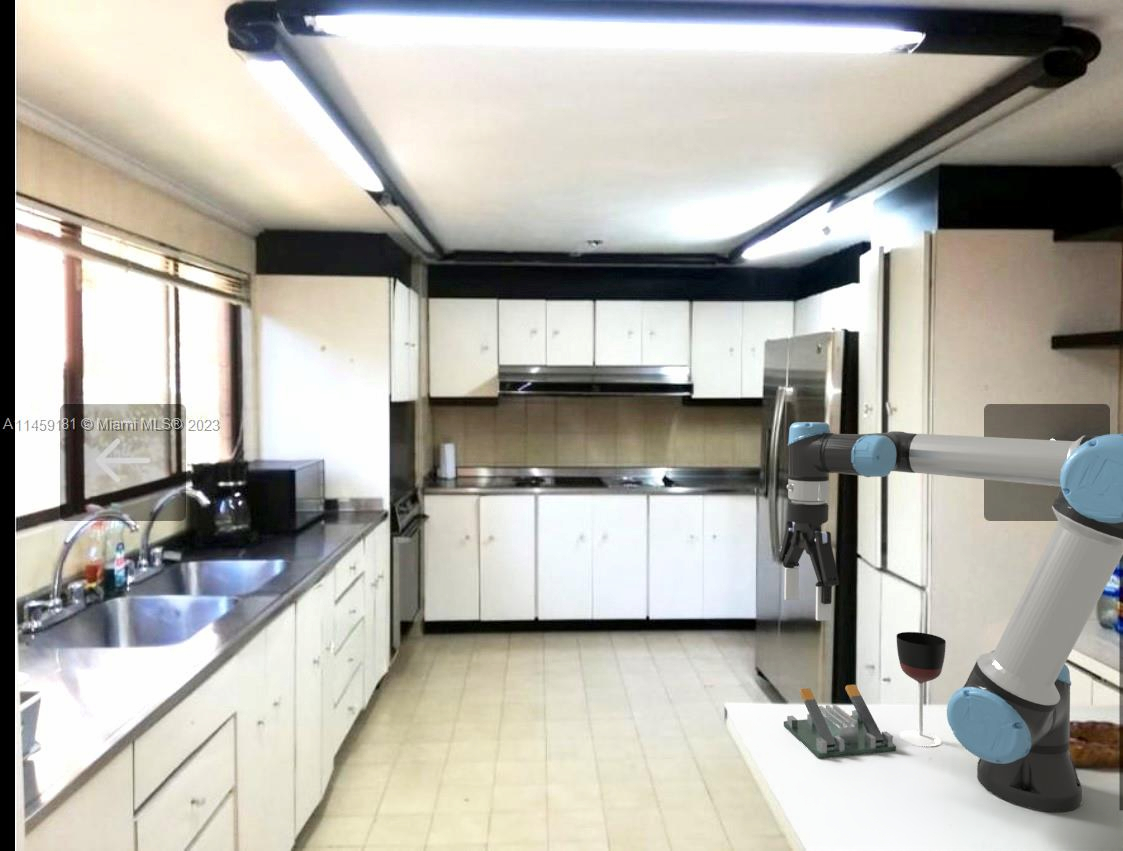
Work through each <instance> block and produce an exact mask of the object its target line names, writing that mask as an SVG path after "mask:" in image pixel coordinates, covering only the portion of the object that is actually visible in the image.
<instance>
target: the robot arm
mask: <svg viewBox="0 0 1123 851" xmlns="http://www.w3.org/2000/svg"><path fill="white" fill-rule="evenodd" d="M830 428H831V427H830V424H829V423H828V422H819V421H818V422H816V421H815V422H814V421H811V422H810V421H808V422H807V421H803V422H802V421H799V422H793V423H792V424H790V426H789V430H788V431H789V432H788V443H787V448H788V452H787V453H788V477H787V478H788V479H787V480H788V484H787V485H786V489H787V497H788V498H787V499H789V500H790V501H788V503H787V519H788V520H786V524H785V526H786V527H785V533H784V537H783V541H782V545H781V549H780V553H779V559H778V560H779V562H781V563H782V565H783V567H784V593H783V594H784V598H783V599H784V600H785V601H798V600H799V590H800V589H799V582H800V581H799V576H800V572H799V571H800V568H799V567H800V563H799V561H800V560H801V558H802V556H803V554H804V551H805V553H806V554H807V555H809V558H810V560H811V563H812V564H811V565H812V567H813V570H814V574H815V577H816V579H817V582H816V583H815V620H816V621H818V622H819V621H821V622H822V621H832V604H833V601H832V600H833V598H832V594H833V593H832V592H833V589H832V588H833V587H834V586H839V585H840V579H839V578H840V577H839V575H838V569H837V565H836V561H835V560H836V559H835V555H834V551H833V550H834V549H833V546H832V535H831V532H830V531H823V530H822V525H823V524H826V523H827V522H828V521H829V504H828V503H827V501H829V499H830V498H829V495H830V479H829V478H830V474H843V475H850V476H851V475H853V476H861V477H866V478H871V477H872V478H875V477H878V478H883V477H887V476H889V475H890V474H891V472H898V473H908V474H911V473H912V474H923V475H924V474H926V475H935V476H936V475H937V476H945V477H957V478H964V479H965V478H966V479H976V480H977V479H978V480H987V481H995V482H996V481H998V482H1007V483H1008V482H1009V483H1020V484H1027V485H1028V484H1031V485H1040V486H1041V485H1042V486H1051V487H1059V488H1060V489H1059V491H1058V493H1057V494H1056V498H1055V499H1054V501H1053V504H1052V506H1051V509H1052V510H1053V513H1054V515H1055V517H1056V519H1057V523H1056V525H1055V527H1054V530H1053V532H1052V533H1051V535H1050V538H1049V539H1048V542H1047V543H1046V546H1045V548H1044V549H1043V552H1042V554H1041V556H1040V558H1039V559H1038V562H1037V564H1036V565H1035V568H1034V570H1033V571H1032V573H1031V575H1030V578H1029V580H1028V582H1027V584H1026V586H1025V588H1024V590H1023V593H1022V594H1021V597H1019V600H1018V603H1017V604H1016V606H1015V608H1014V610H1013V613H1012V614H1011V617H1010V619H1009V620H1008V623H1007V625H1006V626H1005V628H1004V631H1003V632H1002V634H1001V637H1000V639H999V640H998V643H997V645H996V647H995V649H994V650H992V651H990V652H988V653H981V654H980V655H979V657H978V658H977V659H976V662H975V664H974V665H973V668H972V669H971V672H970V674H969V676H968V678H967V680H966V681H965V684H964V685H963V687H961V688H959V689H957V690H955V692H954V693H953V694H952V695H951V697H950V699H949V700H948V703H947V706H946V718H947V719H946V720H947V723H948V725H949V727H950V729H951V731H952V733H953V734H952V735H953V736H954V737H955V739H956V740H957V741H958V742H959V744H960V745H961V746H962V747H964V748H965V749H966V750H967V751H968V752H970V753H971V754H972V755H973V756H975V757H977V758H979V759H978V762H977V765H976V767H977V768H976V770H977V772H976V773H977V774H976V777H977V780H978V782H979V784H980V785H981V786H982V787H983V788H984V789H985V790H987V791H988V792H989V793H991V794H993V795H995V797H996V796H997V797H998V798H1000V799H1002V800H1005V801H1007V802H1009V803H1012V804H1014V805H1017V806H1021V807H1024V808H1027V809H1033V810H1038V811H1043V812H1056V813H1057V812H1068V811H1073V810H1075V809H1078V808H1079V807H1080V806H1081V805H1082V803H1083V787H1082V784H1081V781H1080V779H1079V778H1078V772H1077V770H1076V766H1075V764H1074V761H1073V758H1072V756H1071V752H1070V751H1071V750H1070V738H1071V737H1070V736H1071V735H1070V729H1071V728H1070V727H1071V724H1070V723H1071V719H1070V718H1071V686H1072V681H1071V677H1070V669H1069V667H1068V665H1066V662H1067V660H1068V658H1069V656H1070V654H1071V653H1072V650H1073V649H1074V647H1075V645H1076V643H1077V641H1078V639H1079V637H1080V635H1081V633H1082V632H1083V630H1084V628H1085V627H1086V624H1087V622H1088V621H1089V619H1090V618H1091V615H1092V613H1093V611H1094V609H1095V608H1096V606H1097V604H1098V601H1099V600H1100V598H1101V597H1102V595H1103V592H1104V591H1105V589H1106V587H1107V585H1108V583H1109V581H1110V579H1111V577H1113V574H1114V572H1115V570H1116V568H1117V566H1118V565H1119V563H1120V560H1121V559H1122V557H1123V433H1112V434H1111V433H1109V434H1103V435H1082V436H1081V437H1080V438H1078V439H1077V440H1075V441H1072V440H1071V441H1070V440H1054V439H1053V440H1051V439H1035V438H1017V437H1016V438H1013V437H1011V438H1010V437H1008V438H1007V437H997V436H995V437H993V436H973V435H972V436H971V435H952V434H951V435H950V434H935V433H933V434H932V433H931V434H930V433H913V432H912V433H911V432H905V431H899V430H897V431H896V430H895V431H889V432H881V433H880V432H876V433H874V432H873V433H862V434H859V433H857V434H856V433H851V434H850V433H834V432H831V430H830ZM1081 802H1082V803H1081ZM1080 804H1081V805H1080ZM1077 807H1078V808H1077Z"/></svg>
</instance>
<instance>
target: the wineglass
mask: <svg viewBox="0 0 1123 851" xmlns="http://www.w3.org/2000/svg"><path fill="white" fill-rule="evenodd" d="M946 645H947V644H946V640H945V639H944V638H943V637H941V636H938V635H935V634H931V633H926V632H917V631H916V632H915V631H905V632H904V631H903V632H898V633H897V634H896V650H897V651H896V652H897V656H898V661H899V665H900V668H901V670H902V672H903V673H904V674H905V675H906V676H908V677H909V678H911V679H913V680H914V681H915V682H917V683H918V693H917V694H918V695H917V696H918V697H917V698H918V706H917V707H918V708H917V709H918V713H917V714H918V718H917V720H918V721H917V723H918V730H917V729H906V730H902V731H901V732H900V733H899V737H900V739H901V740H903V741H904V742H906V743H908V744H909V745H912V746H917V747H921V746H923V747H922V748H927V747H926V746H927V745H928V746H930V745H931V744H935V742H934V739H936V738H934V737H933V736H932V735H931V734H932V733H931V734H928V733H929V732H928V733H926V732H927V731H924V730H923V727H924V724H923V719H924V718H923V717H924V716H923V715H924V713H923V711H924V710H923V709H924V706H923V705H924V696H923V694H924V693H923V692H924V688H923V686H924V685H923V684H925V683H926V682H931V681H933V680H936V678H937V679H938V678H939V676H941V674H942V671H943V667H944V662H945V657H946V656H945V655H946V647H947V646H946ZM907 730H908V731H907ZM923 731H924V732H923ZM924 746H925V747H924Z"/></svg>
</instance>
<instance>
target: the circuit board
mask: <svg viewBox="0 0 1123 851" xmlns="http://www.w3.org/2000/svg"><path fill="white" fill-rule="evenodd" d="M818 706H819V708H820V711H821V713H822V715H823V717H824V719H825V721H826V724H827V726H828V728H829V730H830V732H831V734H832V736H833V739H834V741H835V743H836V745H835V747H828V748H827V742H826V741H825V740H824V739H823V738H821V737H820V736H819V734H818V732H817V730H816V727H815V725H814V723H813V721H812V719H811V716H810V714H809V713H808V714H807V715H806V716H807V718H806V719H797V718H796V717H795V716H794V715H787V716H786V719H787V720H785V721H783V727H784V728H785V729H786V730H787V731H788V732H789V733H791V734H792V736H794V737H795V739H797V740H798V741H799V742H800V741H801V742H802V743H803V744H804V745H805V746H806V747H807V748H808V751H809V752H810V753H812V754H813V756H815V757H816V758H817V759H818V760H820V758H821V759H829V758H830V757H832V758H841V757H851V756H861V755H870V754H871V755H872V754H881V753H892V752H897V745H896V744H894V736H893V735H892V734H890V733H889V732H888V731H881V734H882V736H883V738H884V741H883V742H882V743H876V738H875V737H874V736H873V735H871V734H870V733H868V732H867V730H866V729H865V727H864V725H863V723H862V721H861V719H860V717H859V715H858V713H857V711H856V709H854V710H851V715H850V714H848V713H847V712H846V711H844V710H843V709H842V708H841V707H839V706H838V705H836V704H832V706H830V705H829V704H827V705H825V707H824V706H823V705H818ZM801 742H800V743H801ZM802 743H801V744H802ZM803 744H802V745H803ZM804 745H803V746H804ZM805 746H804V747H805ZM806 747H805V748H806ZM807 748H806V749H807Z"/></svg>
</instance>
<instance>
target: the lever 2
mask: <svg viewBox="0 0 1123 851" xmlns="http://www.w3.org/2000/svg"><path fill="white" fill-rule="evenodd" d="M844 689H845V692H846V693H847V695H848V697H849V700H850V701H851V703H852V705H853V706H854V710H856V711H857V713H858V715H859V717H860V719H861V721H862V723H863V725H864V727H865V729H866V730H867V732H868V733H870V734H871V735H873V736H874V737H875V738H876V743H882V742H883V741H884V738H883V736H882V731H881V730H880V729H879V726H878V725H877V723H876V721H875V719H874V716H873V715H872V713H871V711H870V709H869V707H868V706H867V703H866V702H865V700H864V698H863V696H862V694H861V693H860V691H859V688H858V687H857V685H856V684H847V685H846V686H845V688H844Z"/></svg>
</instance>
